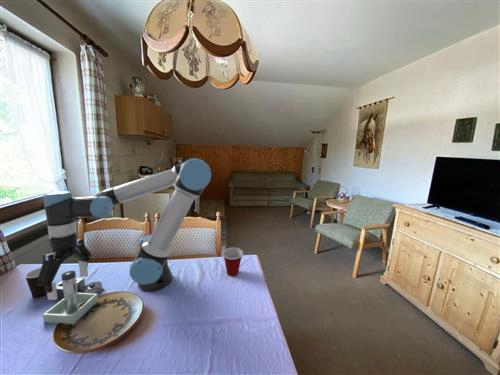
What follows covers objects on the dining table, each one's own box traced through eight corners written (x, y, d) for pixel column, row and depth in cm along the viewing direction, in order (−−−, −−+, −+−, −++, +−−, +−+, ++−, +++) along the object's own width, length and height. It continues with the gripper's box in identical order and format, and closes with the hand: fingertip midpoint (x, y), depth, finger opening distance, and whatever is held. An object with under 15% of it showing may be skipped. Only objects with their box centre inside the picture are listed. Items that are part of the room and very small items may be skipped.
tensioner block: (85, 287, 96) (84, 277, 95) (70, 300, 88) (68, 289, 87) (68, 287, 96) (66, 277, 95) (51, 299, 88) (49, 288, 87)
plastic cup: (219, 278, 106) (219, 256, 104) (225, 266, 116) (225, 246, 114) (240, 280, 104) (241, 258, 102) (244, 268, 115) (244, 248, 113)
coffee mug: (39, 301, 86) (35, 279, 85) (23, 297, 88) (19, 276, 86) (68, 284, 98) (65, 264, 96) (53, 281, 99) (50, 262, 98)
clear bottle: (81, 306, 84) (78, 270, 81) (73, 314, 80) (69, 277, 77) (72, 306, 84) (67, 270, 81) (63, 313, 80) (58, 276, 77)
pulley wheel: (106, 286, 97) (105, 279, 96) (94, 296, 90) (93, 289, 89) (91, 285, 97) (90, 279, 96) (78, 296, 90) (77, 289, 90)
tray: (98, 301, 87) (97, 293, 87) (73, 324, 76) (72, 315, 75) (72, 300, 88) (71, 292, 87) (43, 323, 76) (42, 314, 75)
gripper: (81, 222, 89) (86, 268, 92) (14, 249, 64) (24, 310, 68) (98, 222, 88) (103, 268, 92) (38, 250, 64) (47, 311, 67)
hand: (69, 286), depth 80 cm, fingers open, 13 cm apart
